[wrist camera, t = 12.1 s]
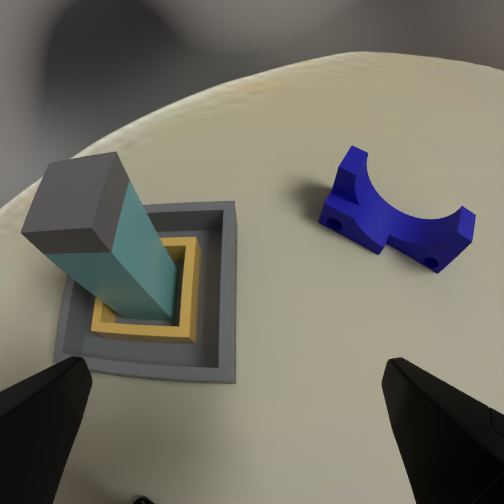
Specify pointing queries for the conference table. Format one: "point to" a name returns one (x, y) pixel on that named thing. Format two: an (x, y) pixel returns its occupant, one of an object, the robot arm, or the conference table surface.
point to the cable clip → (391, 219)
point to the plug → (103, 236)
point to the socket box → (186, 311)
